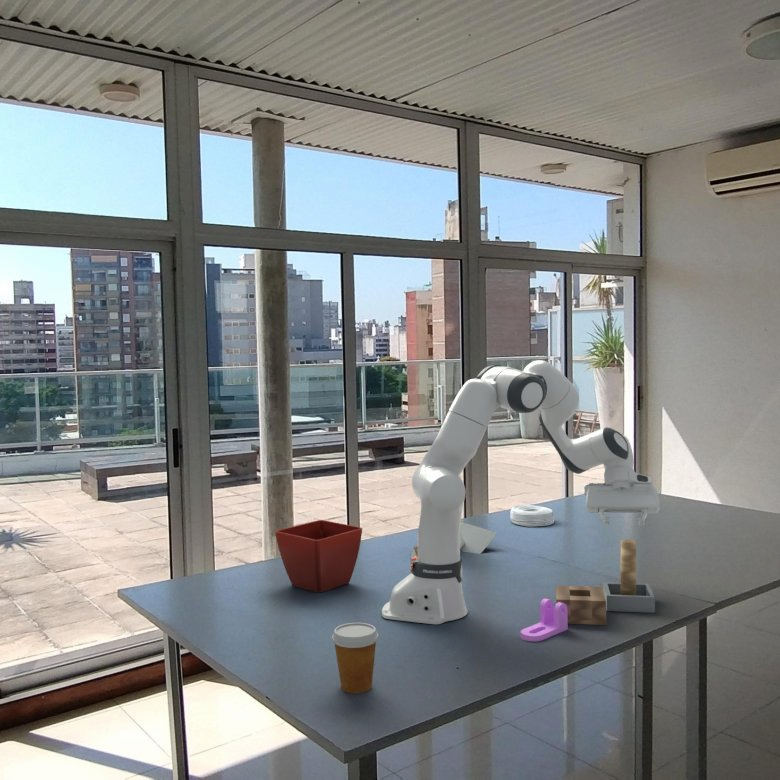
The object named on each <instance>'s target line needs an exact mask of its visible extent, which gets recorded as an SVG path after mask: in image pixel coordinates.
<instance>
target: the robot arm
mask: <svg viewBox="0 0 780 780" xmlns="http://www.w3.org/2000/svg"><path fill="white" fill-rule="evenodd" d="M579 401H580V398H579V392H578V390H577V388H576V387H575V385H574V384H573V383H572V382H571V381H570V380H569V379H568V377H566V375H564V373H562V372H561V370H559V369H558V368H556V367H555V366H554V365H553V364H551V363H549V362H548V361H546V360H542V359H539V360H538V359H537V360H533V361H531V362H530V363H528V364H527V365H526V366H525V367H524V369H523V370H520V369H517V368H514V367H512V366H503V365H501V364H492V365H488V366H486V367H484V368H483V369H482V370H481V371H480V372H479V373H478V374H477V377H475V378H471V379H468V380H467V381H466V382H464V384H463V385H462V386H461V388H460V389H459V391H458V392H457V394H456V396H455V398H454V399H453V401H452V403H451V405H450V406H449V409H448V412H447V414H446V416H445V418H444V420H443V423H442V424H441V427H440V429H439V431H438V434H437V436H436V437H435V439H434V441H433V443H432V444H431V446H430V448H429V449H428V450H427V452H426V454H424V457H423V458H422V460H421V462H420V463H419V465H418V467H417V468H416V469H415V470H414V472H413V474H412V478H411V479H412V480H411V484H412V485H411V486H412V489H413V491H414V494H415V496H416V497H417V498H418V499H419V500H420V516H419V522H418V523H419V525H418V528H417V536H418V537H417V544H418V557H416V556H415V557H413V558H411V560H410V561H411V562H410V572H411V573H410V574H408V575H407V576H406V577H404V578H403V579H402V580H400V581H399V582H398V583H397V584H396V585H395V586H394V587H393V589H392V591H391V594H390V599H389V601H388V602H386V603H385V604H384V606H383V607H382V609H381V616H382V618H384V619H386V620H393V621H402V622H410V623H411V622H412V623H420V624H421V623H422V624H428V625H429V624H430V625H441V624H443V623H446V622H450V621H455V620H459V619H461V618H464V617H465V616H467V614H468V609H467V605H466V601H465V598H464V591H463V586H462V585H463V583H462V581H463V578H464V577H463V572H464V571H463V564H462V563H463V561H462V558H461V551H460V523H461V518H462V514H463V509H464V507H463V506H464V502H465V499H466V494H467V493H466V492H467V491H466V487H465V484H464V482H463V480H462V478H461V476H460V475H461V474H462V472H463V471H464V469H465V468H466V466H467V465H468V463H470V461H471V460H472V459H473V458H474V457H475V456H476V454H477V451H478V449H479V447H480V445H481V443H482V440H483V437H484V436H485V433H486V431H487V428H488V426H489V424H490V422H491V419H492V416H493V414H494V413H495V411H496V410H498V409H499V408H501V409H504V410H508V411H513V412H516V413H518V414H529V413H533V412H535V411H536V410H538V408H539V409H540V411H539V413H538V419H539V424H540V426H541V427H542V429H543V431H544V433H545V435H546V436H547V438H548V440H549V441H550V443H551V444H552V445H553V448H555V450H556V452H557V454H558V455H559V458H560V460H561V462H562V464H563V466H564V467H565V468H566V470H568V471H570V472H571V473H574V474H576V475H581V474H582V473H584V472H587V471H589V470H590V469H593V468H596V467H598V466H602V465H603V467H604V472H603V479H604V482H598V483H597V482H596V483H595V482H591V483H590V482H589V483H588V484H585V486H584V487H583V493H584V495H585V496H586V498H585V510H586V511H587V512H588V513H593V514H594V513H597V514H598V516H599V517H600V518H601V520H602V521H603V525H604V526H610V516H607V515H606V514H641V517H638V520H637V521H638V526H645V521H646V518H647V516H648V514H658V512H659V511H660V509H661V501H660V496H659V493H658V491H657V488H656V487H655V486H654V484H653V478H652V477H651V476H648V475H644V474H642V473H638V472H635V469H634V465H635V461H634V453H633V450H632V446H631V442H630V440H629V439H628V438H627V436H626V435H624V434H621V432H619V431H618V430H616V429H614V428H611V427H608V426H606V427H603V428H600V429H597V430H595V431H593V432H589V433H588V434H585V435H583V436H580V437H578V438H577V437H576V438H569V437H568V434H566V431H565V430H564V429H563V427H562V426H563V425H565V423H566V422H567V421H569V420H570V419H571V418H572V417H573V416H574V414H575V413H576V411H577V409H578V407H579Z"/></svg>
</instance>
